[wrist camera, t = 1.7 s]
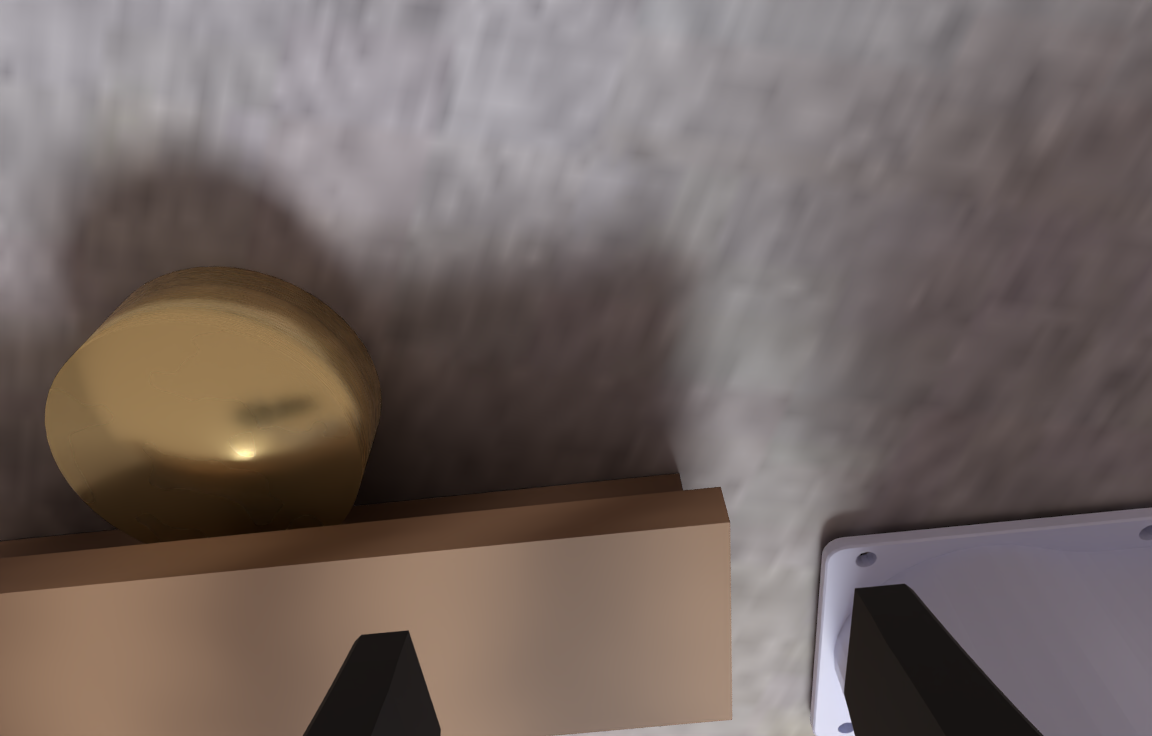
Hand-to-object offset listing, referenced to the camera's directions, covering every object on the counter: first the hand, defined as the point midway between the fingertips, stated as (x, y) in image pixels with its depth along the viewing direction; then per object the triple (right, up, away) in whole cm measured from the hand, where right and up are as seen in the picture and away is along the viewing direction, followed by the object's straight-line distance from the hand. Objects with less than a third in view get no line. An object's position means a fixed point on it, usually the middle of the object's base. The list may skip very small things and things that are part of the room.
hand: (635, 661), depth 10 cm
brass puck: (-8, +3, +8) cm, 12 cm away
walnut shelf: (-7, 0, +10) cm, 12 cm away
